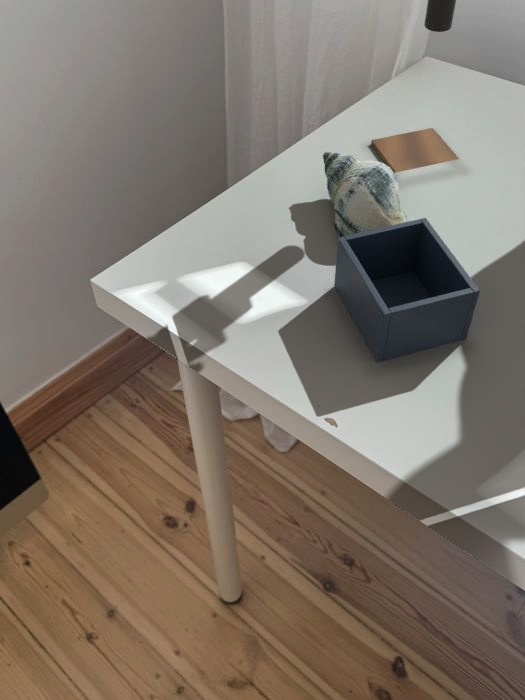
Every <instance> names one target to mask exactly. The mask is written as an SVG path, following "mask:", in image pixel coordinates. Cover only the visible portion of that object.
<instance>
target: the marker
mask: <svg viewBox="0 0 525 700" xmlns="http://www.w3.org/2000/svg"><path fill="white" fill-rule="evenodd" d="M456 4H457V0H427V5H426V10H425V11H426V12H425V18H424V27H425V29H427V30H428V31H431V32H434V33H435V32H436V33H441V32H442V33H443V32H447V31H450V30H451V28H452V26H453V22H454V21H453V20H454V15H455V10H456V9H455V8H456Z"/></svg>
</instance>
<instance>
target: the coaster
mask: <svg viewBox="0 0 525 700" xmlns="http://www.w3.org/2000/svg"><path fill="white" fill-rule="evenodd" d="M370 144H371V145H372V147H373V148H374V150H375V151H376V152H377V153H378V155H379V156H380V157H381V159H382V160H383V161H384V164H385V165H387V166H388V167H390V168H391V169H392V171H393V173H394V174H395V173H400V172H405V171H410V170H414V169H420V168H425V167H429V166H433V165H438V164H442V163H448V162H451V161H458V160H460V157H459V156H457V154H456V153H455V151H453V149H451V147H450V146H449V145H448V144H447V142H446V141H445V140H444V139H443V138H442V137H441V136H440V134H439V133H438V132H437V131H436V130H435V129H434V127H430V128H424V129H419V130H415V131H414V130H413V131H409V132H404V133H400V134H394V135H390V136H384V137H379V138H375V139H371V143H370Z"/></svg>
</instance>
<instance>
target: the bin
mask: <svg viewBox="0 0 525 700" xmlns="http://www.w3.org/2000/svg"><path fill="white" fill-rule="evenodd" d="M408 221H409V220H408ZM335 258H336V259H335V272H334V284H333V286H334V289H335V291H336V293H337V294H338V296H339V298H340V300H341V301H342V303H343V305H344V307H345V308H346V310H347V312H348V314H349V315H350V317H351V319H352V321H353V322H354V325H355V326H356V328H357V330H358V331H359V333H360V335H361V337H362V339H363V341H364V343H365V344H366V346H367V348H368V350H369V351H370V353H371V355H372V357H373V359H374V361H375V362H376V363H377V364H379V363H382V362H385V361H390V360H393V359H397V358H401V357H404V356H408V355H412V354H416V353H420V352H424V351H427V350H431V349H435V348H438V347H442V346H446V345H450V344H453V343H454V344H455V343H457V342H461V341H465V340H467V339H468V335H469V331H470V328H471V324H472V321H473V317H474V314H475V310H476V308H477V307H476V306H477V303H478V299H479V296H480V292H481V290H480V288H479V287H478V286H477V284H476V283H475V282H474V280H473V279H472V277H471V276H470V275H469V273H468V272H467V271H466V269H464V266H463V265H462V264H461V263H460V262H459V260H458V259H457V258H456V256H455V255H454V254H453V252H452V251H451V250H450V248H449V247H448V245H447V244H446V242H445V241H444V240H443V239H442V238H441V236H440V235H439V233H438V232H437V230H435V228H434V226H433V225H432V224H431V223H430V222H429V220H428V219H427V217H422V218H419V219H415V220H410V221H409V222H405V223H400V224H396V225H392V226H387V227H383V228H378V229H374V230H370V231H365V232H361V233H356V234H352V235H347V236H343V237H340V236H339V237H337V246H336V257H335Z"/></svg>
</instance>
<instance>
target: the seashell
mask: <svg viewBox="0 0 525 700" xmlns="http://www.w3.org/2000/svg"><path fill="white" fill-rule="evenodd" d="M322 159H323V164H324V174H325V177H326V188H327V192H328V196H329V199H330V200H331V202H332V203H333V204H334V205H333V210H334V218H335V219H334V221H333V225H334V228H335V230H336V233H337V234H338V236H339V237H343V236H347V235H352V234H356V233H361V232H365V231H370V230H374V229H378V228H383V227H387V226H392V225H396V224H400V223H405V222H409V219H408V217H407V214H406V213H405V212H404V211H403V210H402V208H401V195H400V188H399V182H398V179H397V177H396V174H395V173H393V171H392V169H391V168H390V167H388V165H387V164H386V163H385V162H384V163H383V162H381V161H376V160H360V159H359V158H357V157H355V156H354V155H351V154H341V153H338V152H330V151H325V152H323V154H322Z"/></svg>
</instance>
